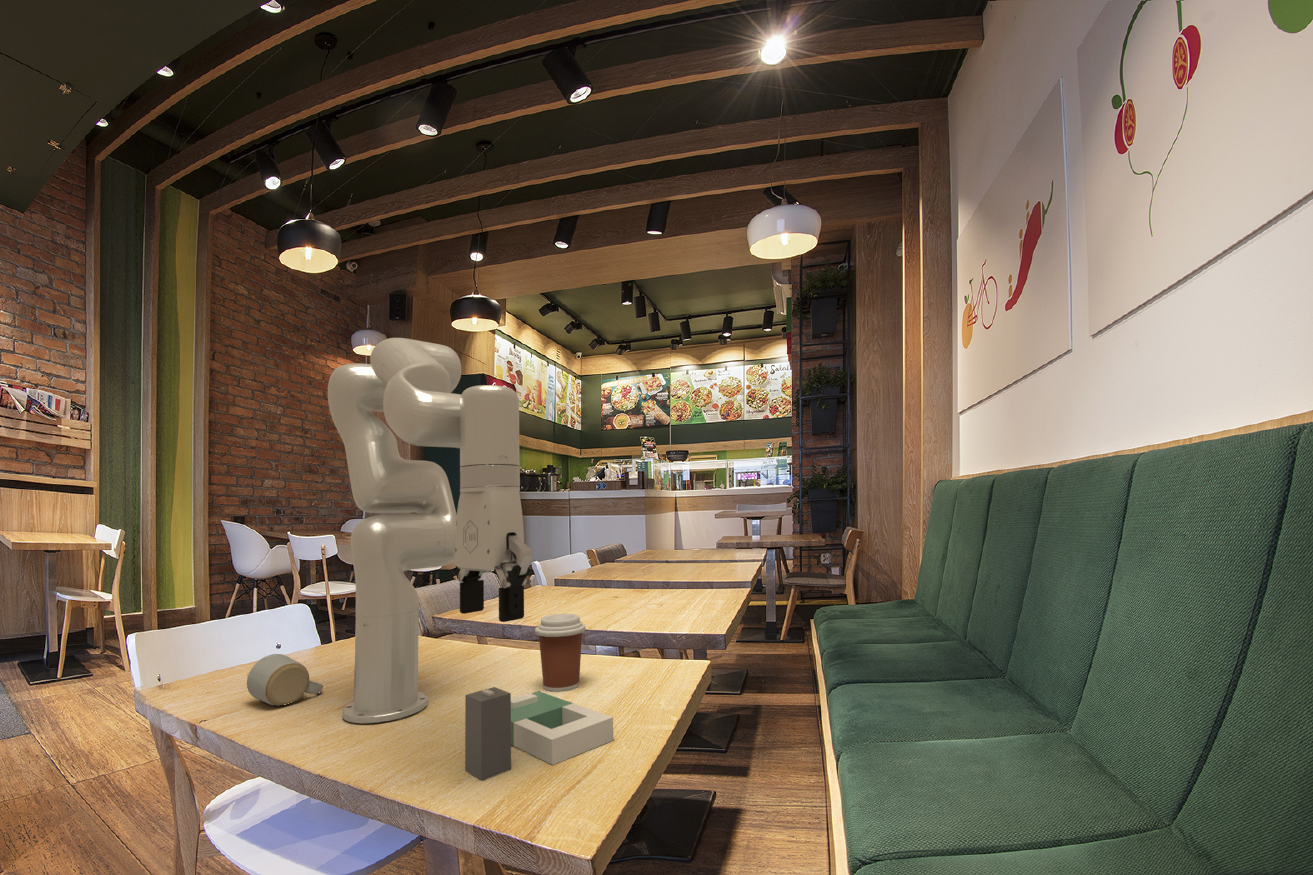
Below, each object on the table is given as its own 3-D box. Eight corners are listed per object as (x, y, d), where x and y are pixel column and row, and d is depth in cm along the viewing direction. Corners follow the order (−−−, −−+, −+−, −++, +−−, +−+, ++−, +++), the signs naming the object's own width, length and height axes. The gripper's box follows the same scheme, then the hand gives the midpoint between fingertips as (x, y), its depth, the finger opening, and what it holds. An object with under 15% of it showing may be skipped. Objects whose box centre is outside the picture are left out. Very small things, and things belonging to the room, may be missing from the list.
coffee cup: (553, 676, 111) (552, 611, 113) (596, 680, 108) (594, 613, 109) (525, 691, 103) (524, 621, 104) (570, 696, 99) (568, 623, 101)
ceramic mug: (264, 713, 96) (267, 664, 97) (244, 704, 101) (247, 658, 102) (331, 696, 105) (333, 651, 106) (309, 689, 109) (311, 646, 110)
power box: (480, 729, 86) (480, 702, 86) (539, 710, 93) (538, 685, 93) (552, 764, 73) (551, 732, 73) (613, 740, 80) (612, 711, 80)
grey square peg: (465, 770, 72) (465, 692, 73) (494, 760, 75) (494, 684, 76) (481, 780, 69) (481, 698, 70) (511, 769, 72) (510, 690, 73)
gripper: (432, 484, 80) (431, 613, 78) (499, 476, 68) (500, 629, 66) (483, 484, 85) (483, 605, 83) (553, 477, 73) (555, 618, 71)
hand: (490, 615), depth 75 cm, fingers open, 9 cm apart
